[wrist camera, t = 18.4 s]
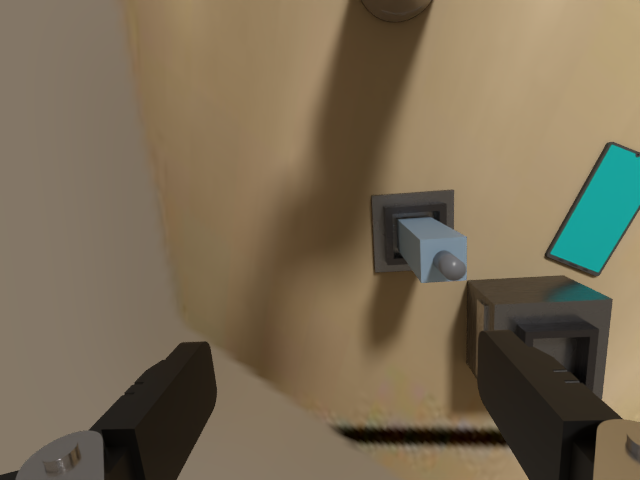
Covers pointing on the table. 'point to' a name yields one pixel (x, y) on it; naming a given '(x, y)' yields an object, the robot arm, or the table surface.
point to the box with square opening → (544, 321)
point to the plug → (432, 249)
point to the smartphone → (600, 211)
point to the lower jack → (404, 206)
